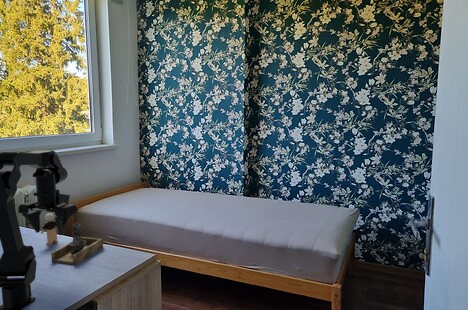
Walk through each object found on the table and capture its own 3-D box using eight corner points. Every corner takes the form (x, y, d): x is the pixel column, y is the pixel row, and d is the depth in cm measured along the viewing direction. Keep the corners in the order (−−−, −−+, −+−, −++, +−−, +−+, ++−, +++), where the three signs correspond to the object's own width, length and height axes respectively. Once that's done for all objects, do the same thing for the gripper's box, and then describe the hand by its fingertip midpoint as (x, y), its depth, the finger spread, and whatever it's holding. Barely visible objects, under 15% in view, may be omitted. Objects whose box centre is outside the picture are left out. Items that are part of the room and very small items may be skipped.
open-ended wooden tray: (75, 264, 123) (75, 255, 123) (51, 261, 126) (51, 252, 125) (103, 247, 139) (102, 239, 138) (81, 245, 141) (80, 236, 141)
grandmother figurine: (55, 239, 147) (53, 210, 145) (62, 240, 146) (60, 211, 144) (39, 246, 140) (37, 215, 138) (46, 247, 139) (44, 216, 137)
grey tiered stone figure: (66, 252, 132) (64, 221, 130) (82, 247, 136) (80, 217, 134) (74, 256, 128) (72, 224, 126) (89, 251, 132) (87, 221, 131)
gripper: (86, 184, 121) (89, 227, 123) (41, 181, 125) (44, 223, 128) (63, 192, 110) (66, 239, 112) (15, 188, 115) (19, 234, 117)
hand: (49, 233), depth 118 cm, fingers open, 9 cm apart
